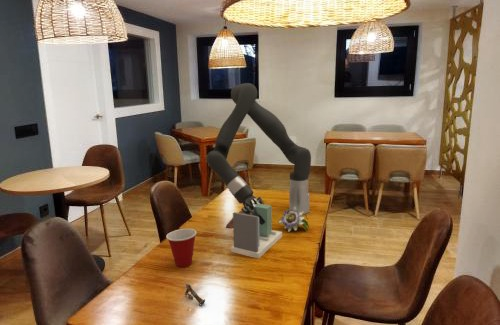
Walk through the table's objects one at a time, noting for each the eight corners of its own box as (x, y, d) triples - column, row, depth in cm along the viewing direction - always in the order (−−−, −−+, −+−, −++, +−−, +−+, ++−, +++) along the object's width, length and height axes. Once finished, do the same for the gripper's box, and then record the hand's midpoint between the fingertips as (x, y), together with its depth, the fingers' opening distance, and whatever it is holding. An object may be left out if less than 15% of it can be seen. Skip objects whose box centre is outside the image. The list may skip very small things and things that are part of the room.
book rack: (257, 231, 159) (256, 196, 156) (282, 236, 154) (282, 200, 150) (231, 251, 141) (230, 213, 137) (258, 258, 135) (258, 218, 131)
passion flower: (289, 242, 160) (273, 222, 159) (295, 229, 169) (280, 209, 168) (310, 233, 154) (293, 211, 153) (315, 220, 164) (299, 199, 162)
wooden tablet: (241, 207, 188) (260, 206, 185) (242, 211, 189) (260, 210, 186) (224, 226, 163) (245, 226, 160) (224, 231, 164) (245, 230, 161)
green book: (256, 229, 153) (256, 203, 151) (271, 233, 150) (271, 205, 147) (252, 233, 150) (251, 206, 147) (267, 236, 147) (267, 208, 144)
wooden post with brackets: (186, 290, 113) (189, 281, 111) (202, 309, 109) (205, 299, 107) (181, 293, 112) (184, 283, 110) (197, 312, 108) (200, 302, 106)
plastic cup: (181, 254, 139) (180, 225, 137) (204, 260, 134) (202, 230, 131) (161, 266, 130) (159, 235, 128) (184, 274, 125) (182, 241, 122)
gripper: (236, 188, 143) (264, 222, 140) (253, 180, 155) (279, 211, 152) (225, 199, 147) (252, 233, 144) (242, 190, 159) (267, 220, 156)
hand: (266, 221), depth 148 cm, fingers closed on green book, 4 cm apart
